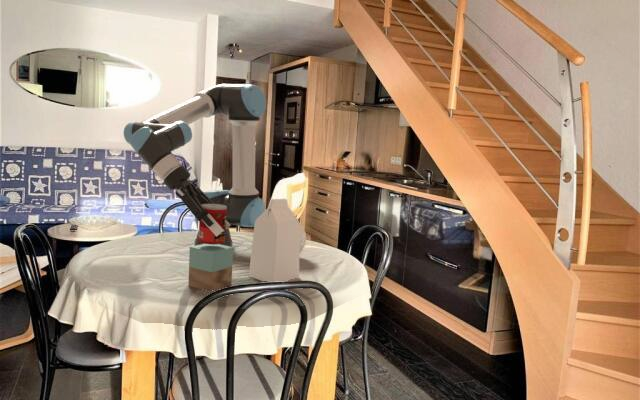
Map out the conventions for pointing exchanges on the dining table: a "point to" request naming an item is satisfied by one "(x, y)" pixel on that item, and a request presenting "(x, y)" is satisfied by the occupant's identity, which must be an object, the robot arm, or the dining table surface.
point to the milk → (275, 244)
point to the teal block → (211, 257)
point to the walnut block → (210, 278)
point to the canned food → (220, 217)
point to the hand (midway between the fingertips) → (223, 230)
